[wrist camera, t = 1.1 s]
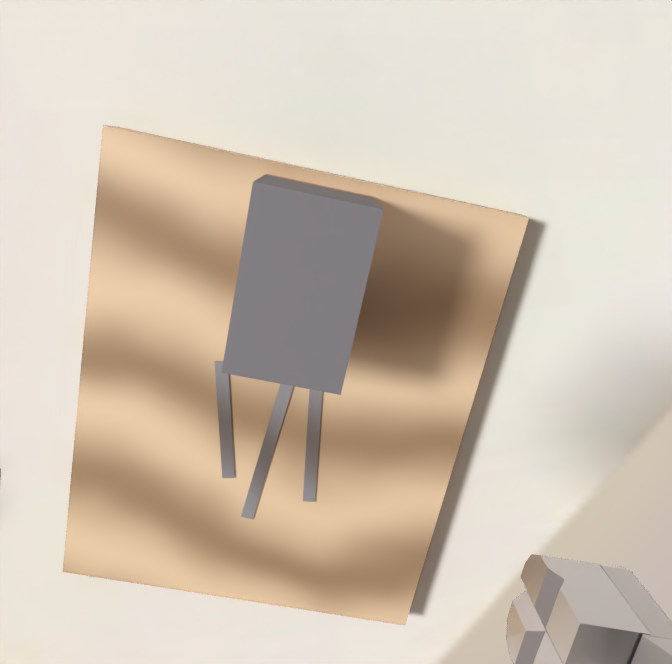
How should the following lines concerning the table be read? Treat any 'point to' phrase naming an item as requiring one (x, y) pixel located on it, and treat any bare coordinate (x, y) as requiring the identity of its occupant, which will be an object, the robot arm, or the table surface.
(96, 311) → the board
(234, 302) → the block
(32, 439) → the table surface
